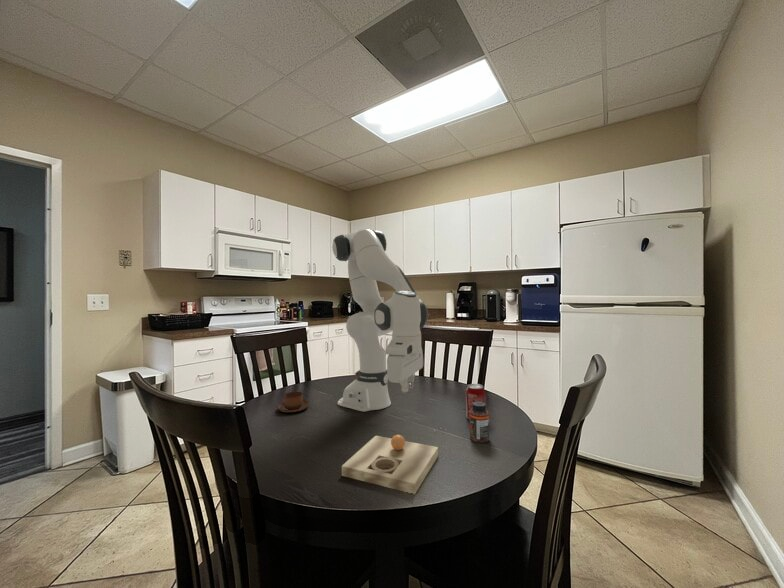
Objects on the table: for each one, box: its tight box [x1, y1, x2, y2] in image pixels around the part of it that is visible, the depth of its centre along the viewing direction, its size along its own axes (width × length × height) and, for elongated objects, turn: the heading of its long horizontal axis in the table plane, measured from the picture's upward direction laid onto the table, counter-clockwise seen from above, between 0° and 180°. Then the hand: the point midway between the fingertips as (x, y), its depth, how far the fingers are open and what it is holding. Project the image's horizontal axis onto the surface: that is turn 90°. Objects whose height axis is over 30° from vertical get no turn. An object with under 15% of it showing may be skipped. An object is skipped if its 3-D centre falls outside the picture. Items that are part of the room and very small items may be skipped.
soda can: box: [465, 383, 486, 420], centre depth 119 cm, size 7×7×12 cm
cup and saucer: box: [277, 391, 310, 413], centre depth 133 cm, size 12×12×6 cm
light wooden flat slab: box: [341, 435, 439, 495], centre depth 89 cm, size 20×19×2 cm
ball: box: [391, 434, 406, 450], centre depth 92 cm, size 4×4×4 cm
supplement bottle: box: [469, 402, 490, 444], centre depth 103 cm, size 6×6×11 cm
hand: (407, 389), depth 99 cm, fingers open, 2 cm apart
